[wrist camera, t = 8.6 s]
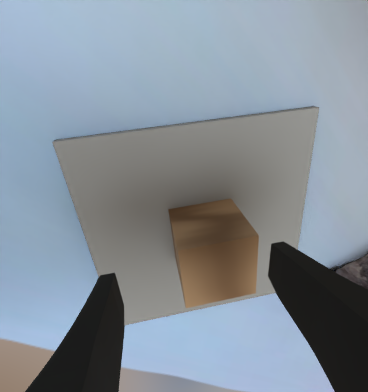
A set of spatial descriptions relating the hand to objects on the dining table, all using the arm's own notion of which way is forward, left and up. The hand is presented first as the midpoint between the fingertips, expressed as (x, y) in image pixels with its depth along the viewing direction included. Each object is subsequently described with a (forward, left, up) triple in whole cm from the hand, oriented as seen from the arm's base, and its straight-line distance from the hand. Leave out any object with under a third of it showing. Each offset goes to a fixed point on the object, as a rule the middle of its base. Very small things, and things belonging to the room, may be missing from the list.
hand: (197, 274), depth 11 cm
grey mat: (+2, -4, -9) cm, 10 cm away
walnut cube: (+2, -4, -8) cm, 9 cm away
